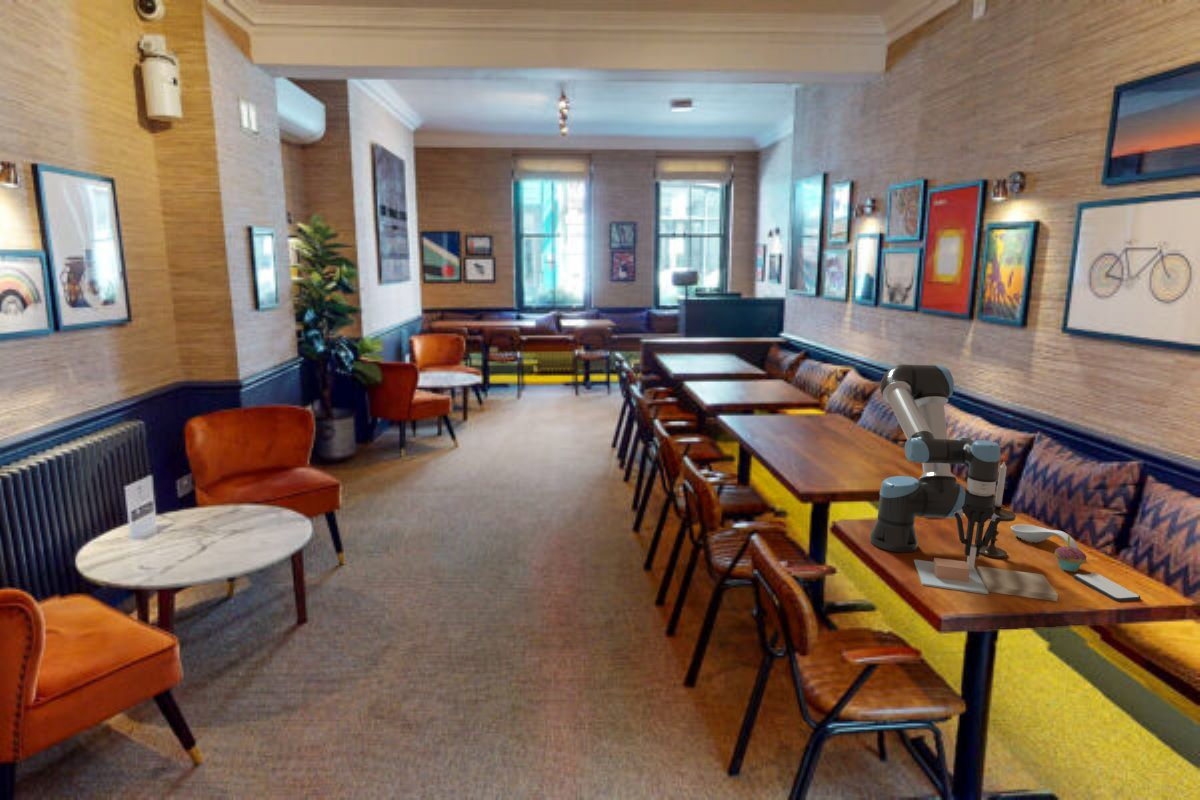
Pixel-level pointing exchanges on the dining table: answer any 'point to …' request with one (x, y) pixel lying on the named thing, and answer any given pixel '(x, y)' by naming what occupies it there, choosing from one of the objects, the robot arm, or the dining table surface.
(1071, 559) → the cupcake
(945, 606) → the dining table surface
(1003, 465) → the candlestick
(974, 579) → the mat
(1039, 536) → the spoon rest
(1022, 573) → the beige flat rectangular piece
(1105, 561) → the dining table surface
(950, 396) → the robot arm
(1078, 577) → the phone case
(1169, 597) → the dining table surface
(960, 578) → the pink block
